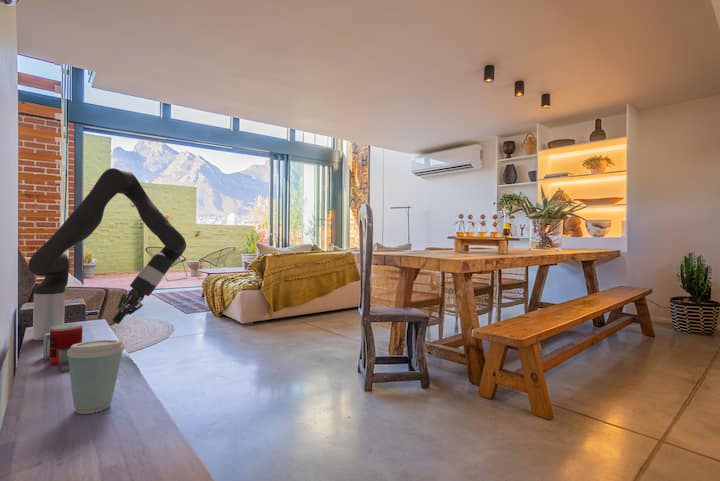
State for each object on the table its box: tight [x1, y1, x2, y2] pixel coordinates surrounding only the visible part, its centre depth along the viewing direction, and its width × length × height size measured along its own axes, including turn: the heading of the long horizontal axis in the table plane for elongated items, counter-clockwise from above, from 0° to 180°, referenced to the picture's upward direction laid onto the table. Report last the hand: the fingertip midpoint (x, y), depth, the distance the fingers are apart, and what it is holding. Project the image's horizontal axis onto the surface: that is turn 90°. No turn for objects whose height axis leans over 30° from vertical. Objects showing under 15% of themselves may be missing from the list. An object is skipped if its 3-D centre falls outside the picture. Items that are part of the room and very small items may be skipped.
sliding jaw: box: [42, 333, 50, 360], centre depth 123 cm, size 9×7×8 cm
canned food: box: [49, 322, 83, 366], centre depth 116 cm, size 8×8×11 cm
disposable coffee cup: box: [67, 339, 125, 415], centre depth 84 cm, size 11×11×15 cm
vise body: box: [58, 347, 70, 373], centre depth 111 cm, size 6×8×6 cm
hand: (115, 322), depth 131 cm, fingers closed
